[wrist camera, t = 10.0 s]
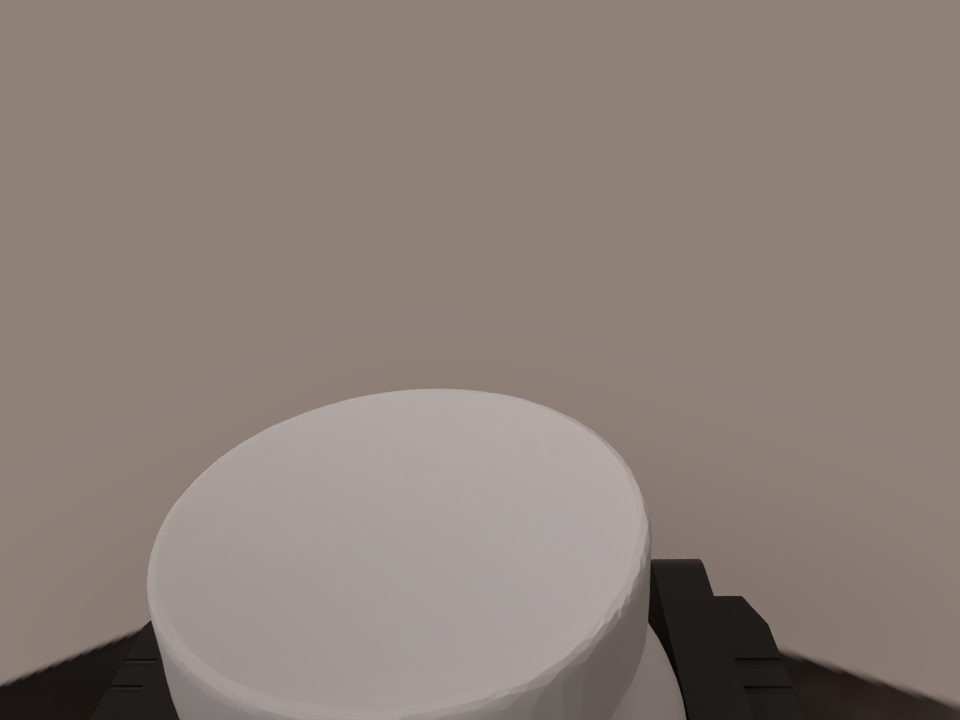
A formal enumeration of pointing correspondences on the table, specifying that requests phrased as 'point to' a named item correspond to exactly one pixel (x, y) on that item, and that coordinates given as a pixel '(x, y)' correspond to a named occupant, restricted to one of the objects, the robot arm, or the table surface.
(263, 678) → the pill bottle
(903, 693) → the table surface
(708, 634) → the robot arm
